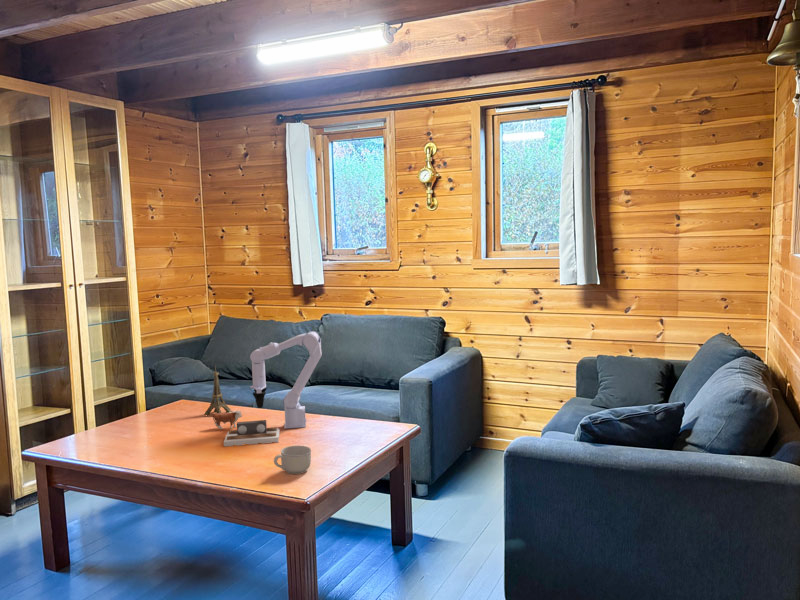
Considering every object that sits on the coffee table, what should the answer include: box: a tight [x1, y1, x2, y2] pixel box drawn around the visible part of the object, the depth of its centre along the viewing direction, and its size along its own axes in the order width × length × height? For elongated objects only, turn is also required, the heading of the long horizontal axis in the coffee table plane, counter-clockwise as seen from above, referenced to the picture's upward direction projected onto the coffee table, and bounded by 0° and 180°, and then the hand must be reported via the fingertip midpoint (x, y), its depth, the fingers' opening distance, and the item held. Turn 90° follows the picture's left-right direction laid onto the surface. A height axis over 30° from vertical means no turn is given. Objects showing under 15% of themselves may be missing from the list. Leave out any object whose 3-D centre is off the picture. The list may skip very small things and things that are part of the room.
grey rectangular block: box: [236, 419, 268, 435], centre depth 265 cm, size 12×3×6 cm, turn 100°
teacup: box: [273, 445, 312, 475], centre depth 224 cm, size 14×11×8 cm
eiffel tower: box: [203, 364, 233, 417], centre depth 309 cm, size 11×11×25 cm
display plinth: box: [223, 426, 280, 447], centre depth 265 cm, size 22×14×3 cm, turn 99°
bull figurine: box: [212, 409, 243, 430], centre depth 284 cm, size 4×13×8 cm, turn 89°
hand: (260, 405), depth 283 cm, fingers open, 7 cm apart
